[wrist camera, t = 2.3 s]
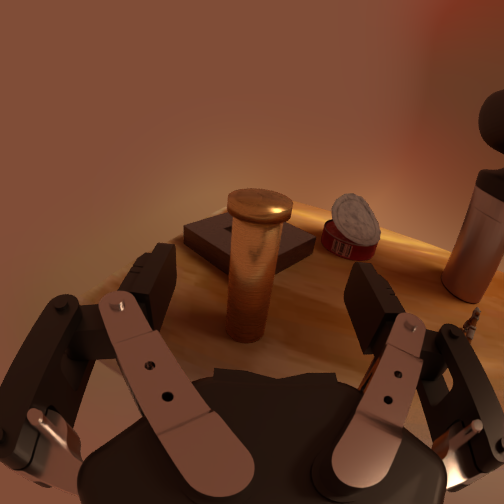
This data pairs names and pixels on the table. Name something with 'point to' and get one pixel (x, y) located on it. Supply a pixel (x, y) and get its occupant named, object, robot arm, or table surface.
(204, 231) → the jig
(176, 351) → the table surface
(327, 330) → the table surface
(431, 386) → the robot arm
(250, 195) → the bushing
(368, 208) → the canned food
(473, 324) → the brown turned rod
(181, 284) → the table surface
